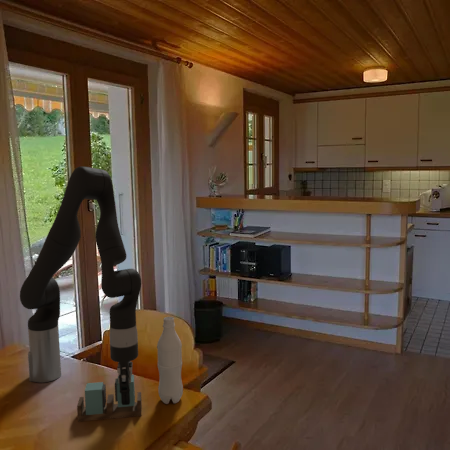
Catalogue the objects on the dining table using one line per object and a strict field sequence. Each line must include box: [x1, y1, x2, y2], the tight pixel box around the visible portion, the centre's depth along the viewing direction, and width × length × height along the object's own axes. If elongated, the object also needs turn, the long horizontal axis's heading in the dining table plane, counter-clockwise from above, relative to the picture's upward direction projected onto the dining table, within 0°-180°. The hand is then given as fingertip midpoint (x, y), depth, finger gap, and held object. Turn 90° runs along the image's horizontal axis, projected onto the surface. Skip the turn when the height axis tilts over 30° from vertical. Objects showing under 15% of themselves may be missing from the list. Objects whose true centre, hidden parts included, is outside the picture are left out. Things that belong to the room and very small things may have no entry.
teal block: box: [114, 374, 136, 407], centre depth 132 cm, size 5×4×7 cm
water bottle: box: [156, 316, 184, 405], centre depth 138 cm, size 7×7×25 cm
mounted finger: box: [84, 381, 107, 415], centre depth 131 cm, size 5×4×7 cm
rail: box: [76, 391, 143, 422], centre depth 132 cm, size 17×5×4 cm, turn 99°
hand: (126, 399), depth 133 cm, fingers closed on teal block, 4 cm apart
